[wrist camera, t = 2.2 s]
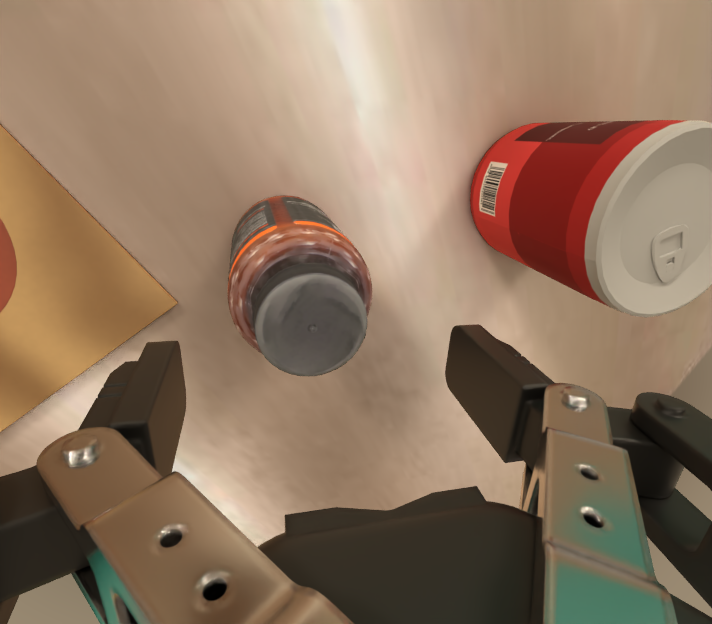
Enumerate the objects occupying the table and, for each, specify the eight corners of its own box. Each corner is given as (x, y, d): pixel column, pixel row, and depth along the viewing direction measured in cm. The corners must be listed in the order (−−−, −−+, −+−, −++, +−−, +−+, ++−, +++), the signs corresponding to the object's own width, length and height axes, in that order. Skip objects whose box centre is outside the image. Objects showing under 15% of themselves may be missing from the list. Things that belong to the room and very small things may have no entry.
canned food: (495, 274, 29) (623, 351, 19) (443, 172, 25) (569, 201, 15) (589, 208, 28) (771, 251, 18) (551, 95, 25) (752, 74, 15)
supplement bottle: (223, 283, 25) (206, 391, 14) (243, 180, 23) (238, 223, 12) (321, 301, 26) (366, 408, 16) (347, 208, 24) (416, 265, 14)
